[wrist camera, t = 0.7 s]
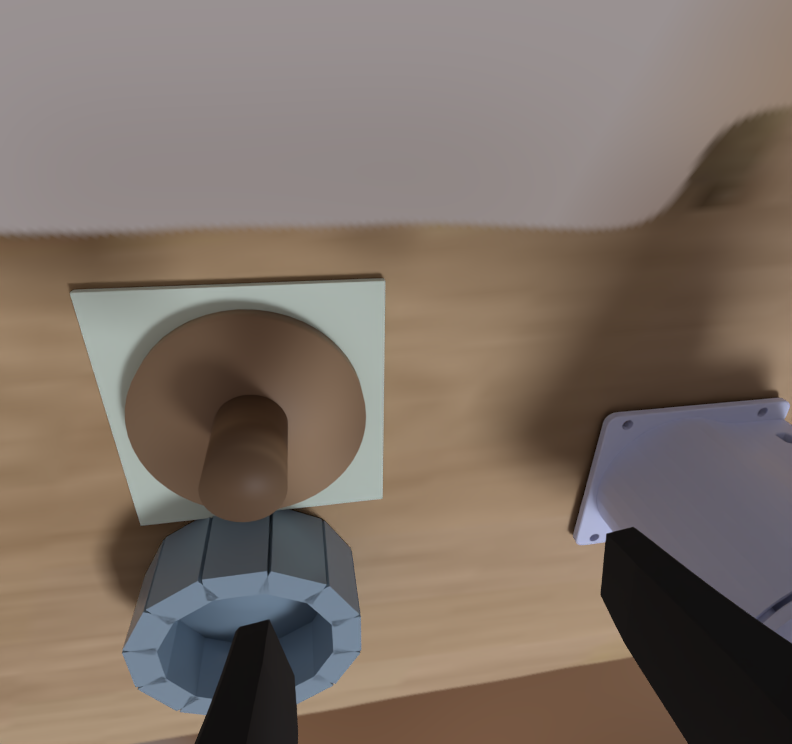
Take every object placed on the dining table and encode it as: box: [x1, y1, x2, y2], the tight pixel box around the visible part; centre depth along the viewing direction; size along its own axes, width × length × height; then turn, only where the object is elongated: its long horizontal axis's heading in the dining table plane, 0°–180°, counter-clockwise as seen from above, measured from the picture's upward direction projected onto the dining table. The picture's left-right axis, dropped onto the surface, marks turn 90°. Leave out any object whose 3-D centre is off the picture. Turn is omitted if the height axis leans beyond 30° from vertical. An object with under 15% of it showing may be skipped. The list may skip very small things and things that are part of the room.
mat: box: [70, 278, 385, 526], centre depth 19 cm, size 10×10×1 cm
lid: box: [125, 309, 366, 522], centre depth 17 cm, size 8×8×4 cm
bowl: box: [122, 509, 361, 715], centre depth 22 cm, size 9×9×4 cm
